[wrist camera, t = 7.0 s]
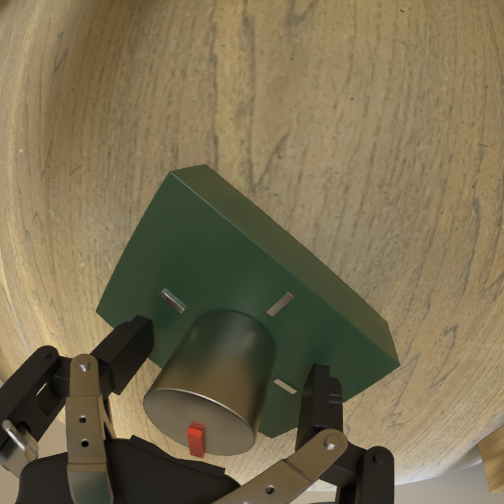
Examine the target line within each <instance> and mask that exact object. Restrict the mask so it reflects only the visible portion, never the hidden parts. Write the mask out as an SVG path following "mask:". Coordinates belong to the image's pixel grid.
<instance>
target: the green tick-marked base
mask: <svg viewBox="0 0 504 504" xmlns="http://www.w3.org/2000/svg"><path fill="white" fill-rule="evenodd" d="M213 311H232V312H236V313H240V314H243V315H246V316H248V317H250V318H252V319H253V320H255V321H256V322H258V323H259V324H260V325H262V326H263V327H264V328H265V329H266V330H267V332H268V333H269V334H270V336H271V338H272V339H273V342H274V344H275V348H276V358H275V362H274V367H273V371H272V376H271V380H270V384H269V389H268V393H267V397H266V401H265V406H264V410H263V414H262V418H261V422H260V426H259V430H258V431H259V432H260V433H262V434H264V435H266V436H268V437H270V438H274V437H277V436H279V435H281V434H283V433H286V432H288V431H290V430H292V429H294V428H296V427H298V423H299V415H300V407H301V399H302V392H303V388H304V385H305V382H306V380H307V377H308V375H309V373H310V370H311V368H312V365H313V364H314V363H317V364H323V365H328V366H329V367H330V377H334V378H338V380H339V382H340V384H341V386H342V403H344V402H345V401H347V400H349V399H350V398H352V397H354V396H355V395H357V394H359V393H360V392H362V391H363V390H365V389H367V388H368V387H370V386H371V385H373V384H374V383H376V382H377V381H379V380H380V379H382V378H383V377H385V376H386V375H388V374H389V373H391V372H392V371H393V370H395V369H396V368H398V367H399V366H400V363H399V359H398V356H397V353H396V349H395V346H394V343H393V339H392V336H391V333H390V330H389V327H388V324H387V322H386V321H385V320H384V319H383V318H382V317H381V316H380V315H379V314H378V313H377V312H376V311H375V310H374V309H373V308H372V307H370V306H369V305H368V304H367V303H366V302H365V301H364V300H363V299H362V298H361V297H360V296H359V295H358V294H356V293H355V292H354V291H353V290H352V289H351V288H350V287H349V286H348V285H347V284H345V283H344V282H343V281H342V280H341V279H340V278H339V277H338V276H337V275H336V274H334V273H333V272H332V271H331V270H330V269H329V268H328V267H327V266H325V265H324V264H323V263H322V262H321V261H320V260H319V259H318V258H316V257H315V256H314V255H313V254H312V253H311V252H310V251H308V250H307V249H306V248H305V247H304V246H303V245H302V244H300V243H299V242H298V241H297V240H296V239H295V238H294V237H292V236H291V235H290V234H289V233H288V232H287V231H285V230H284V229H283V228H282V227H281V226H280V225H278V224H277V223H276V222H275V221H274V220H272V219H271V218H270V217H269V216H268V215H267V214H265V213H264V212H263V211H262V210H261V209H259V208H258V207H257V206H256V205H255V204H253V203H252V202H251V201H250V200H249V199H247V198H246V197H245V196H244V195H242V194H241V193H240V192H239V191H238V190H236V189H235V188H234V187H233V186H231V185H230V184H229V183H228V182H227V181H225V180H224V179H223V178H222V177H220V176H219V175H218V174H217V173H215V172H214V171H213V170H212V169H210V168H209V167H208V166H207V165H205V164H203V165H198V166H193V167H188V168H183V169H178V170H174V171H170V172H169V173H168V175H167V176H166V178H165V180H164V181H163V183H162V184H161V186H160V188H159V189H158V191H157V193H156V194H155V196H154V198H153V199H152V201H151V203H150V204H149V206H148V208H147V210H146V211H145V213H144V215H143V217H142V218H141V220H140V222H139V224H138V225H137V227H136V229H135V231H134V233H133V235H132V236H131V238H130V240H129V242H128V244H127V246H126V248H125V250H124V252H123V254H122V256H121V258H120V260H119V262H118V264H117V266H116V268H115V270H114V272H113V274H112V276H111V278H110V280H109V282H108V284H107V287H106V289H105V291H104V293H103V295H102V298H101V300H100V302H99V304H98V307H97V309H96V313H97V314H98V315H100V316H101V317H102V318H103V319H104V320H105V321H106V322H107V323H108V324H109V325H110V326H111V327H112V328H114V329H115V328H116V327H117V326H118V325H119V324H121V323H123V322H125V321H128V322H130V321H131V320H132V319H133V318H134V317H135V316H137V315H140V316H143V317H146V318H149V319H151V320H152V322H153V334H154V347H153V350H152V352H151V353H150V355H149V356H148V358H149V359H150V360H151V361H153V362H154V363H155V364H157V365H158V366H159V367H160V368H162V369H163V367H164V366H165V364H166V363H167V361H168V360H169V358H170V357H171V355H172V354H173V352H174V351H175V349H176V348H177V346H178V345H179V343H180V342H181V340H182V339H183V337H184V336H185V334H186V333H187V331H188V330H189V328H190V327H191V325H192V324H193V322H194V321H195V320H196V319H197V318H199V317H200V316H202V315H204V314H206V313H209V312H213Z"/></svg>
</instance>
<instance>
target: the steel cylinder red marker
mask: <svg viewBox="0 0 504 504" xmlns="http://www.w3.org/2000/svg"><path fill="white" fill-rule="evenodd" d="M275 358H276V348H275V344H274V342H273V339H272V338H271V336H270V334H269V333H268V332H267V330H266V329H265V328H264V327H263V326H262V325H260V324H259V323H258V322H256V321H255V320H253V319H252V318H250V317H248V316H246V315H243V314H240V313H236V312H232V311H213V312H209V313H206V314H204V315H202V316H200V317H199V318H197V319H196V320H195V321H194V322H193V324H192V325H191V327H190V328H189V330H188V331H187V333H186V334H185V336H184V337H183V339H182V340H181V342H180V343H179V345H178V346H177V348H176V349H175V351H174V352H173V354H172V355H171V357H170V358H169V360H168V361H167V363H166V364H165V366H164V367H163V369H162V371H161V372H160V374H159V375H158V377H157V378H156V380H155V381H154V383H153V384H152V386H151V387H150V389H149V390H148V392H147V393H146V395H145V396H144V400H143V406H144V410H145V413H146V415H147V416H148V418H149V419H150V421H151V422H152V423H153V424H154V425H155V426H156V427H157V428H158V429H159V430H160V431H161V432H162V433H164V434H165V435H166V436H168V437H169V438H171V439H173V440H174V441H176V442H178V443H180V444H182V445H184V446H186V447H188V448H189V449H190V454H191V455H193V456H196V457H200V458H203V457H204V455H205V453H207V454H213V455H222V456H230V455H237V454H241V453H244V452H246V451H248V450H249V449H251V448H252V446H253V445H254V444H255V441H256V437H257V433H258V430H259V426H260V422H261V418H262V414H263V410H264V406H265V401H266V397H267V393H268V389H269V384H270V380H271V376H272V371H273V367H274V362H275Z"/></svg>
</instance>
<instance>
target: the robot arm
mask: <svg viewBox="0 0 504 504" xmlns="http://www.w3.org/2000/svg"><path fill="white" fill-rule="evenodd" d="M153 347H154V334H153V322H152V320H151V319H149V318H146V317H143V316H140V315H137V316H135V317H134V318H133V319H132V320H131V321H130V322H128V321H125V322H123V323H121V324H119V325H118V326H117V327H116V328H115V329H114V330H113V331H112V332H111V333H110V334H109V335H108V336H107V337H106V338H105V339H104V340H103V341H102V342H101V343H100V344H99V345H98V346H97V347H96V348H95V349H94V350H93V351H92V352H91V353H90V354H80V355H77V356H76V357H74V358H73V359H72V358H67V357H63V356H59V353H58V351H57V349H56V348H55V347H53V346H42V347H40V348H38V349H37V350H36V351H35V352H34V353H33V354H32V355H31V356H30V357H29V358H28V359H27V360H26V361H25V362H24V363H23V364H22V365H21V367H20V368H19V369H18V370H17V371H16V372H15V373H14V374H13V375H12V376H11V377H10V378H9V379H8V380H7V381H6V382H5V384H4V385H3V386H2V387H1V388H0V464H1V465H2V466H3V467H4V468H5V469H6V470H8V471H11V472H12V473H13V474H14V475H15V476H16V477H18V478H19V479H20V482H19V492H18V497H17V500H16V503H15V504H289V503H290V502H292V501H293V500H294V499H296V498H297V497H298V496H299V495H300V494H301V493H303V492H304V491H305V490H306V489H308V488H309V487H310V486H311V485H312V484H313V483H314V482H316V481H317V480H318V479H320V480H323V481H325V482H328V483H330V484H333V485H336V486H337V491H336V497H335V504H394V457H393V455H392V453H391V452H390V451H389V450H388V449H387V448H385V447H381V446H375V447H372V448H370V449H368V450H366V449H363V448H360V447H358V446H355V445H353V444H351V443H350V442H349V441H348V440H347V438H346V436H345V435H344V433H343V404H342V386H341V384H340V382H339V380H338V378H334V377H330V367H329V366H328V365H323V364H317V363H314V364H313V365H312V368H311V370H310V373H309V375H308V377H307V380H306V382H305V385H304V388H303V392H302V399H301V407H300V415H299V423H298V431H297V438H296V445H295V451H296V452H294V453H293V454H292V455H291V456H289V457H288V458H286V459H281V460H280V461H278V462H277V463H275V464H274V465H272V466H271V467H270V468H268V469H267V470H265V471H264V472H262V473H261V474H259V475H258V476H256V477H255V478H253V479H252V480H250V481H249V482H247V483H246V484H244V485H242V486H241V485H240V484H239V483H238V482H237V481H235V480H234V479H233V478H231V477H230V476H228V475H226V474H224V473H225V468H222V467H218V466H215V465H211V464H208V463H205V462H202V461H193V460H185V459H177V458H174V457H172V456H170V455H169V454H167V453H166V452H164V451H163V450H162V449H160V448H159V447H157V446H156V445H154V444H153V443H150V442H148V441H146V440H143V439H141V438H139V437H137V436H135V435H132V436H131V438H130V439H123V438H116V434H115V431H114V427H113V421H112V415H111V408H110V400H109V395H110V394H111V392H113V393H115V394H117V395H120V394H121V392H122V391H123V390H124V388H125V387H126V386H127V384H128V383H129V382H130V380H131V379H132V378H133V376H134V375H135V374H136V372H137V371H138V370H139V368H140V367H141V366H142V364H143V363H144V361H145V360H146V359H147V357H148V356H149V355H150V353H151V352H152V350H153ZM45 383H46V385H45V386H44V384H45ZM43 386H44V388H43V389H42V390H41V391H40V392H39V394H38V395H37V393H38V391H39V390H40V389H41V388H42V387H43ZM36 395H37V396H36ZM64 405H65V413H66V437H67V450H68V452H64V453H61V454H56V455H52V456H48V457H44V458H39V459H37V458H38V441H39V440H40V438H41V437H42V436H43V434H44V433H45V431H46V430H47V429H48V427H49V426H50V424H51V423H52V422H53V420H54V419H55V417H56V416H57V415H58V413H59V412H60V411H61V409H62V408H63V407H64Z"/></svg>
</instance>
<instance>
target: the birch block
mask: <svg viewBox="0 0 504 504" xmlns="http://www.w3.org/2000/svg"><path fill="white" fill-rule="evenodd" d="M478 445H479V449H480V452H481V456H482V460H483V463H484V468H485V472H486V476H487V481H488V485H489V490H490V493H494V494H498V493H500V492H501V491H503V490H504V425H503V426H501V427H500V428H499V429H497V430H496V431H495V432H493V433H492V434H490V435H489V436H488V437H486V438H485V439H483V440H482V441H480V442H479V443H478Z"/></svg>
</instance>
